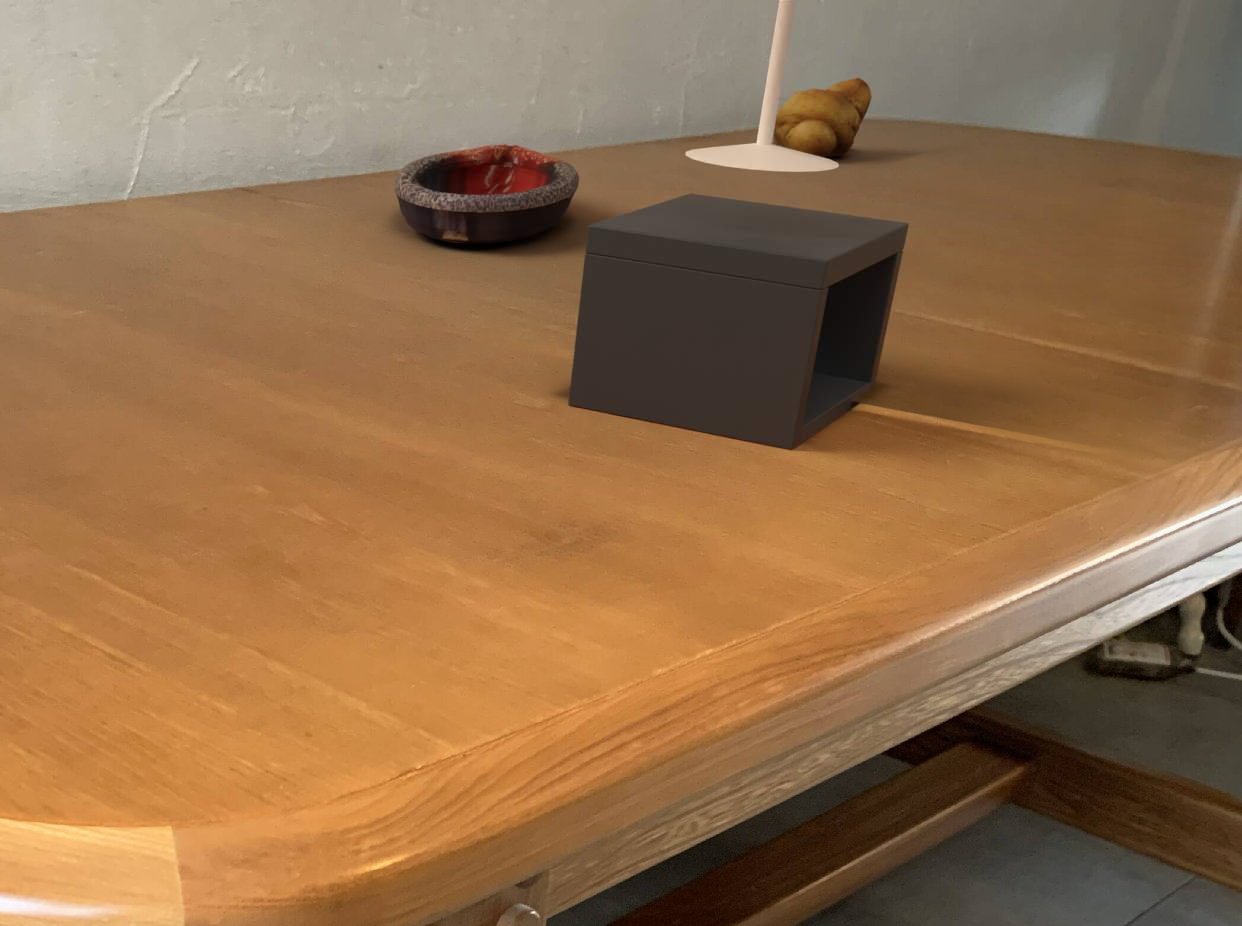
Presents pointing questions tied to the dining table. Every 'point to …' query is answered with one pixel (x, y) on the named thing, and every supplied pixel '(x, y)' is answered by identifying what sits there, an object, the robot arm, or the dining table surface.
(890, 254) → the shelf
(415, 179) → the dish
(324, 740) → the dining table surface
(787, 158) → the wineglass
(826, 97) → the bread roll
